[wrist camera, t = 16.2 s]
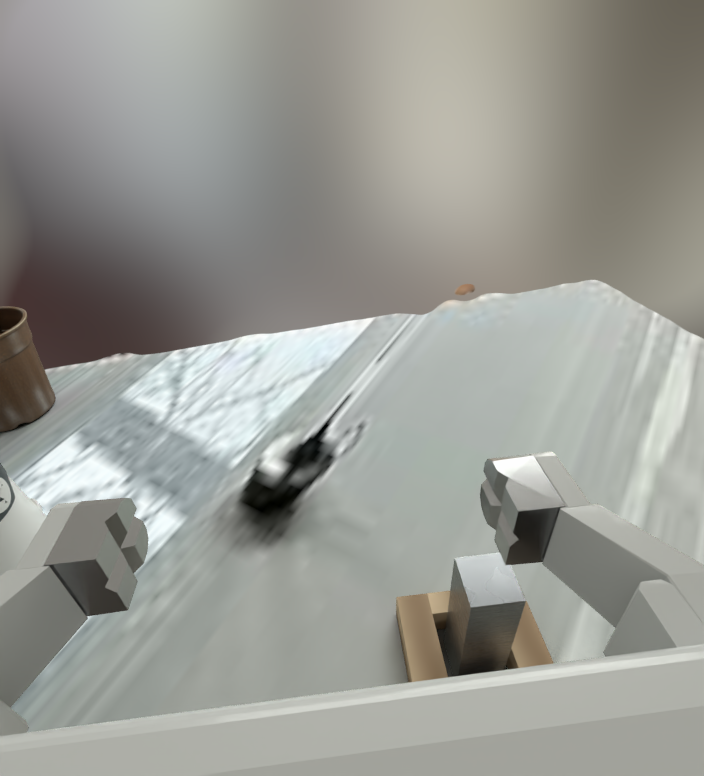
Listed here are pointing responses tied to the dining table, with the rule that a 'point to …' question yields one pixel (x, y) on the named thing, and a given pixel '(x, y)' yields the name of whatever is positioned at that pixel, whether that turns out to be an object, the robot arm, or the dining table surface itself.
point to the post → (482, 614)
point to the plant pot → (20, 373)
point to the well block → (430, 614)
